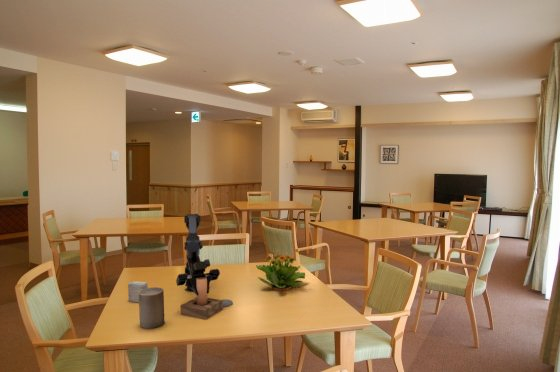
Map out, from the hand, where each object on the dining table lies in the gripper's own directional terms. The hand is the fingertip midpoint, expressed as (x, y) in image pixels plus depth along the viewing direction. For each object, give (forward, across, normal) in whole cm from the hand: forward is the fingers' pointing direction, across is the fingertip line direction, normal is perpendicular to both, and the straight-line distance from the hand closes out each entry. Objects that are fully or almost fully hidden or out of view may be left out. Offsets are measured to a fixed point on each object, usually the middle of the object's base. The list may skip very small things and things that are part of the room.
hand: (202, 294), depth 173 cm
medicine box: (-15, -22, +27) cm, 38 cm away
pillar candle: (+7, -22, +5) cm, 24 cm away
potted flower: (-2, +46, +14) cm, 48 cm away
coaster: (+2, +12, +10) cm, 15 cm away
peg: (+4, 0, +6) cm, 7 cm away
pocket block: (+5, 0, +7) cm, 8 cm away
